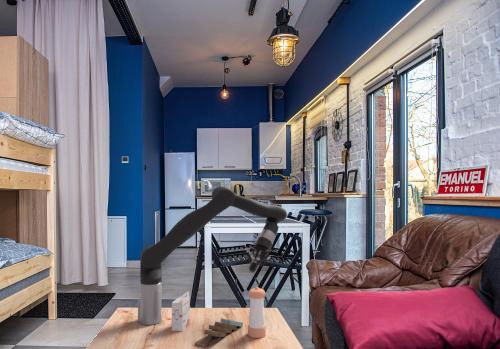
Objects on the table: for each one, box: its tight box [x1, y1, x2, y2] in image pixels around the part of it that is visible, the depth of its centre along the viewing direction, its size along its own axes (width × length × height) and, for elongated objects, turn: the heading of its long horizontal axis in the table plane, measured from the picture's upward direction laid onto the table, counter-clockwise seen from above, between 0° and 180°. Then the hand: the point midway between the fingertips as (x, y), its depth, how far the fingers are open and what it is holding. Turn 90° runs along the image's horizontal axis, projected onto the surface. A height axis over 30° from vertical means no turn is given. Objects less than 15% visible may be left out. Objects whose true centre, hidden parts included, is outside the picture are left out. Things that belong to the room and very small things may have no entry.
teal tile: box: [220, 317, 244, 328], centre depth 161 cm, size 2×5×10 cm
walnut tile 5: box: [194, 335, 222, 349], centre depth 147 cm, size 2×5×10 cm
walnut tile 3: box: [207, 324, 233, 334], centre depth 154 cm, size 2×5×10 cm
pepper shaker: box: [247, 286, 267, 339], centre depth 155 cm, size 7×7×19 cm
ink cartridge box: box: [171, 290, 191, 332], centre depth 163 cm, size 9×5×15 cm, turn 168°
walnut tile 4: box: [203, 329, 228, 338], centre depth 149 cm, size 2×5×10 cm
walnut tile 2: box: [213, 321, 238, 331], centre depth 157 cm, size 2×5×10 cm
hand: (251, 271), depth 174 cm, fingers closed
